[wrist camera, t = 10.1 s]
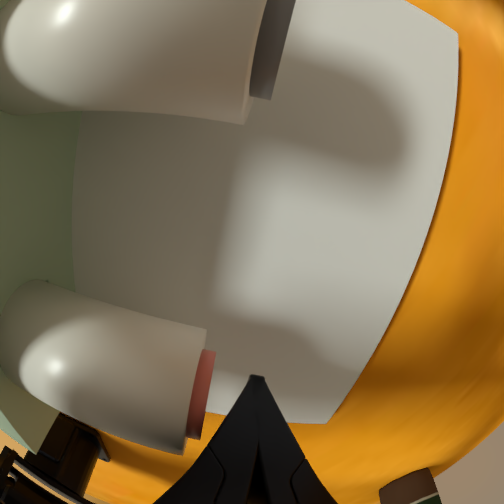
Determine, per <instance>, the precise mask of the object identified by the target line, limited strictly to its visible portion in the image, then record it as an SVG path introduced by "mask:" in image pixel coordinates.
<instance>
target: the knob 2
mask: <svg viewBox="0 0 504 504" xmlns="http://www.w3.org/2000/svg"><path fill="white" fill-rule="evenodd" d="M206 337H207V329H204V328H199V327H195V326H190V325H186V324H182V323H178V322H174V321H170V320H166V319H162V318H158V317H154V316H150V315H147V314H143V313H139V312H136V311H132V310H129V309H126V308H122V307H119V306H116V305H112V304H109V303H106V302H103V301H100V300H97V299H93V298H90V297H87V296H85V295H82V294H79V293H76V292H73V291H70V290H67V289H65V288H62V287H59V286H56V285H54V284H51V283H49V282H46V281H43V280H30V281H28V282H26V283H24V284H23V285H21V286H20V287H19V288H18V289H16V290H15V292H14V293H13V294H12V295H11V296H10V298H9V299H8V301H7V303H6V305H5V307H4V309H3V311H2V314H1V316H0V365H1V367H2V370H3V372H4V373H5V375H6V376H7V377H8V379H9V380H10V381H11V382H13V383H14V384H16V385H17V386H19V387H20V388H22V389H23V390H25V391H26V392H28V393H29V394H31V395H33V396H34V397H36V398H38V399H39V400H41V401H43V402H44V403H46V404H48V405H50V406H51V407H53V408H55V409H57V410H59V411H61V412H63V413H65V414H67V415H69V416H71V417H73V418H75V419H77V420H79V421H81V422H83V423H85V424H88V425H90V426H92V427H95V428H97V429H99V430H102V431H104V432H107V433H109V434H112V435H114V436H117V437H120V438H123V439H125V440H128V441H131V442H134V443H137V444H140V445H144V446H147V447H150V448H154V449H157V450H161V451H165V452H168V453H172V454H177V455H181V456H183V454H184V451H185V448H186V444H187V440H188V438H192V439H197V440H200V438H201V433H202V427H203V421H204V416H205V410H206V405H207V399H208V394H209V389H210V383H211V378H212V372H213V367H214V362H215V356H216V352H215V351H210V350H205V345H206Z"/></svg>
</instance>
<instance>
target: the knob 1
mask: <svg viewBox="0 0 504 504" xmlns="http://www.w3.org/2000/svg"><path fill="white" fill-rule="evenodd" d="M295 2H296V0H10V1H9V2H8V3H7V4H6V5H5V6H4V7H3V8H2V9H1V11H0V110H2V111H3V112H5V113H8V114H11V115H28V114H38V113H49V112H66V111H129V112H147V113H159V114H170V115H180V116H188V117H196V118H203V119H210V120H216V121H222V122H228V123H234V124H239V125H244V124H245V122H246V120H247V118H248V115H249V112H250V109H251V106H252V103H253V99H254V97H257V98H261V99H266V100H271V97H272V93H273V89H274V85H275V81H276V77H277V73H278V69H279V65H280V61H281V57H282V53H283V49H284V45H285V41H286V37H287V33H288V29H289V25H290V21H291V17H292V13H293V9H294V6H295Z"/></svg>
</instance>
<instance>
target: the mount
mask: <svg viewBox="0 0 504 504" xmlns="http://www.w3.org/2000/svg"><path fill="white" fill-rule="evenodd" d="M9 1H10V0H0V11H1V9H2V8H3V7H4V6H5V5H6V4H7V3H8V2H9ZM457 85H458V33H457V32H455V31H454V30H452V29H451V28H449V27H448V26H447V25H445V24H444V23H442V22H441V21H439V20H437V19H436V18H434V17H433V16H431V15H429V14H428V13H426V12H424V11H423V10H421V9H419V8H417V7H416V6H414V5H412V4H410V3H408V2H406V1H404V0H296V2H295V6H294V9H293V13H292V17H291V21H290V25H289V29H288V33H287V37H286V41H285V45H284V49H283V53H282V57H281V61H280V65H279V69H278V73H277V77H276V81H275V85H274V89H273V93H272V97H271V100H266V99H261V98H257V97H254V99H253V103H252V106H251V109H250V112H249V115H248V118H247V120H246V122H245V124H244V125H239V124H234V123H228V122H222V121H216V120H210V119H203V118H196V117H188V116H180V115H170V114H159V113H147V112H129V111H66V112H49V113H38V114H28V115H11V114H8V113H5V112H3V111H2V110H0V316H1V314H2V311H3V309H4V307H5V305H6V303H7V301H8V299H9V298H10V296H11V295H12V294H13V293H14V292H15V290H16V289H18V288H19V287H20V286H21V285H23V284H24V283H26V282H28V281H30V280H43V281H46V282H49V283H51V284H54V285H56V286H59V287H62V288H65V289H67V290H70V291H73V292H76V293H79V294H82V295H85V296H87V297H90V298H93V299H97V300H100V301H103V302H106V303H109V304H112V305H116V306H119V307H122V308H126V309H129V310H132V311H136V312H139V313H143V314H147V315H150V316H154V317H158V318H162V319H166V320H170V321H174V322H178V323H182V324H186V325H190V326H195V327H199V328H204V329H207V337H206V345H205V350H210V351H215V352H216V356H215V362H214V367H213V372H212V378H211V383H210V389H209V394H208V399H207V405H206V410H205V411H206V412H211V413H216V414H222V415H227V414H228V413H229V411H230V410H231V408H232V406H233V405H234V403H235V402H236V400H237V398H238V397H239V395H240V394H241V392H242V390H243V389H244V387H245V385H246V384H247V381H248V378H249V375H251V374H255V375H260V376H264V377H265V381H266V383H267V385H268V387H269V389H270V391H271V393H272V395H273V397H274V399H275V401H276V403H277V405H278V407H279V409H280V411H281V413H282V415H283V416H284V418H285V420H286V422H289V423H309V424H326V423H327V422H328V421H329V419H330V418H331V417H332V415H333V414H334V413H335V411H336V410H337V408H338V407H339V406H340V404H341V403H342V401H343V400H344V398H345V397H346V396H347V394H348V393H349V391H350V390H351V388H352V387H353V385H354V383H355V382H356V380H357V379H358V377H359V376H360V374H361V372H362V371H363V369H364V367H365V366H366V364H367V363H368V361H369V359H370V357H371V356H372V354H373V352H374V350H375V349H376V347H377V345H378V343H379V342H380V340H381V338H382V336H383V334H384V332H385V330H386V328H387V327H388V325H389V323H390V321H391V319H392V317H393V315H394V313H395V311H396V308H397V306H398V304H399V302H400V300H401V298H402V296H403V293H404V291H405V289H406V287H407V284H408V282H409V280H410V277H411V275H412V273H413V270H414V268H415V265H416V263H417V260H418V257H419V255H420V252H421V249H422V247H423V244H424V241H425V238H426V235H427V232H428V230H429V226H430V223H431V220H432V217H433V214H434V210H435V207H436V204H437V200H438V196H439V193H440V189H441V185H442V181H443V177H444V173H445V168H446V164H447V159H448V154H449V149H450V143H451V137H452V131H453V124H454V117H455V108H456V98H457ZM59 412H60V411H59V410H57V409H55V408H53V407H51V406H50V405H48V404H46V403H44V402H43V401H41V400H39V399H38V398H36V397H34V396H33V395H31V394H29V393H28V392H26V391H25V390H23V389H22V388H20V387H19V386H17V385H16V384H14V383H13V382H11V381H10V380H9V379H8V377H7V376H6V375H5V373H4V372H3V370H2V367H1V365H0V429H1V430H2V431H4V432H5V433H6V434H7V435H9V436H10V437H11V438H13V439H14V440H16V441H17V442H18V443H19V444H21V445H22V446H24V447H25V448H27V449H28V450H30V451H31V452H33V453H34V454H37V452H38V450H39V448H40V447H41V445H42V443H43V441H44V439H45V437H46V435H47V434H48V432H49V430H50V428H51V426H52V425H53V423H54V421H55V419H56V417H57V416H58V414H59Z"/></svg>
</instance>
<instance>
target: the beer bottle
mask: <svg viewBox="0 0 504 504" xmlns="http://www.w3.org/2000/svg"><path fill="white" fill-rule="evenodd" d="M379 496H380V503H381V504H442V503H441V500H440V497H439V494H438V491H437V488H436V485H435V482H434V479H433V477H432V475H431V472H430V470H429V469H428V468H424V469H421V470H418V471H414V472H411V473H409V474H407V475H405V476H403V477H401V478H399V479H396V480H394V481H392V482H390V483H389V484H387V485H386V486H384V487H383V488H381V489H380V490H379Z"/></svg>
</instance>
